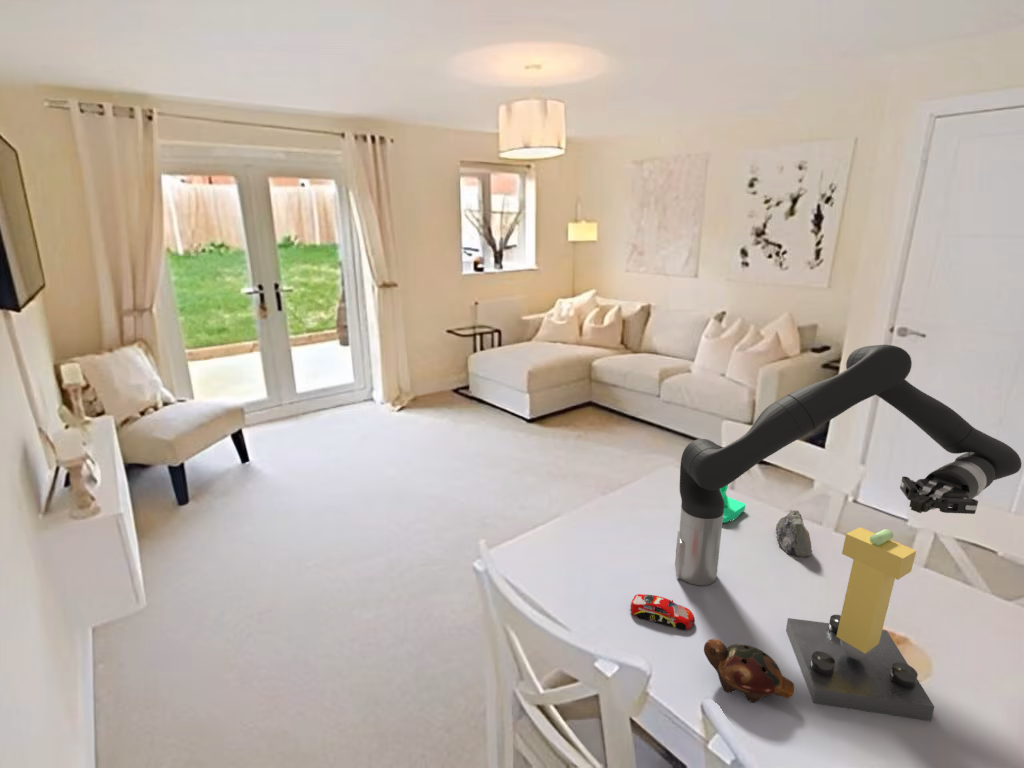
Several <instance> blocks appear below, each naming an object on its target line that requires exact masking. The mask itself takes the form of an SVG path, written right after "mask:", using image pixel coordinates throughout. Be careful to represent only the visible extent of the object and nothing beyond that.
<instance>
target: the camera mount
mask: <svg viewBox="0 0 1024 768" xmlns="http://www.w3.org/2000/svg"><path fill="white" fill-rule="evenodd" d="M728 486H729V484H728V485H726V486H725V487H723V488H720V492H721V495H722V497H723V500H724V513H723V522H722V523H728V522H731V521H732V520H733V519H735V518H736V517H738V516H739V515H740V516H741V513H742V512H744V511H745V510H746V503H745V502H742V501H740V500H737V499H734V498H732V497H729V496H727V491H728ZM740 516H739V517H740ZM739 517H738V518H739ZM736 519H737V518H736ZM736 519H735V520H736ZM729 520H731V521H729ZM733 521H734V520H733ZM733 521H732V522H733Z"/></svg>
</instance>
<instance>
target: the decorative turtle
mask: <svg viewBox="0 0 1024 768" xmlns="http://www.w3.org/2000/svg"><path fill="white" fill-rule="evenodd" d="M703 652H704V653H703V654H704V655H705V656H706V659H707V661H708V663H710V665H711V666H712V667H713V669H715V671H716V672H717V675H718V679H719V682H720V685H721V688H722V690H723V691H724V692H725V693H728V694H729V693H733V692H739V693H741V694H743V696H744V697H745V698H746V699H747V701H749V703H752V704H754V703H758V702H759V701H760V700H761V699H763V697H767V696H771V695H776V696H778V697H782V698H785V699H790V698H791V697H792V696H793V695H794V694H795V683H794V682H793V681H791V680H790V679H788V678H786V677H785V676H783V673H782V672H781V669H780V667H779V666H778V664H777V662H776V661H775V660H774V659H773V657H771V656H769V655H768V654H767V653H766V652H764V651H763V650H760V649H759V648H757V647H754V646H751V645H747V644H743V643H736V644H731V645H729V646H727V645H726V644H725V641H722V640H721V639H716V638H714V639H708V640H707V641H706V642H705V643H704V646H703Z"/></svg>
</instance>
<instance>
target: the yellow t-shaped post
mask: <svg viewBox="0 0 1024 768" xmlns="http://www.w3.org/2000/svg"><path fill="white" fill-rule="evenodd" d="M893 538H894V533H893V532H892V531H891V529H888V528H884V529H882V530H880V531H878V532H876V533H875V532H873V531H870V530H868V529H866V528H863V527H861V526H859V527H857V528H855V529H853V530H852V531H851V530H850V531H849V532H847V533H846V534H845V537H844V542H843V547H842V550H841V551H842V552H841V554H842V555H843V556H846V557H848V558H850V559H852V565H851V569H850V573H849V577H848V582H847V587H846V592H845V597H844V599H843V605H842V610H841V613H840V615H841V618H840V622H839V627H838V631H837V636H836V637H838V638H839V639H841V640H840V643H841V647H842V649H843V651H844V652H845V653H846V654H847V655H848V656H849V657H851V658H853V659H856V660H865V659H867V658H869V657H870V656H871V654H872V651H873V648H874V647H875V646H877V645H878V644H879V641H880V637H881V633H882V630H884V629H883V627H884V624H885V620H886V616H887V612H888V609H889V608H888V607H889V603H890V600H891V596H892V591H893V588H894V584H895V580H896V581H898V580H900V579H902V578H903V577H904V576H906V575H908V574H909V573H911V572H912V571H913V570H912V569H913V565H914V562H915V557H916V554H917V550H916V549H914V548H912V547H909V546H906V545H904V544H902V543H899V542H897V541H895V540H892V539H893Z"/></svg>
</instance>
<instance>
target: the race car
mask: <svg viewBox="0 0 1024 768" xmlns="http://www.w3.org/2000/svg"><path fill="white" fill-rule="evenodd" d="M629 611H630V613H631V615H633V616H635V617H637V618H639V619H640V620H644V621H647V620H648V621H650V622H654V623H656V624H661V625H664V626H668V627H672V628H677V630H681V631H685V630H687V631H688V630H690V629H692V628H693V626H694V625H695V622H696V620H695V619H696V618H695V615H694V613H693V612H692V611H691V610H690V608H688V607H685V606H682V605H680V604H678V603H675V602H674V599H669V598H666V597H663V596H659V595H653V594H641V593H640V594H639V593H638V594H635V595H634V597H633V599H632V600H631V603H630V609H629Z"/></svg>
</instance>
